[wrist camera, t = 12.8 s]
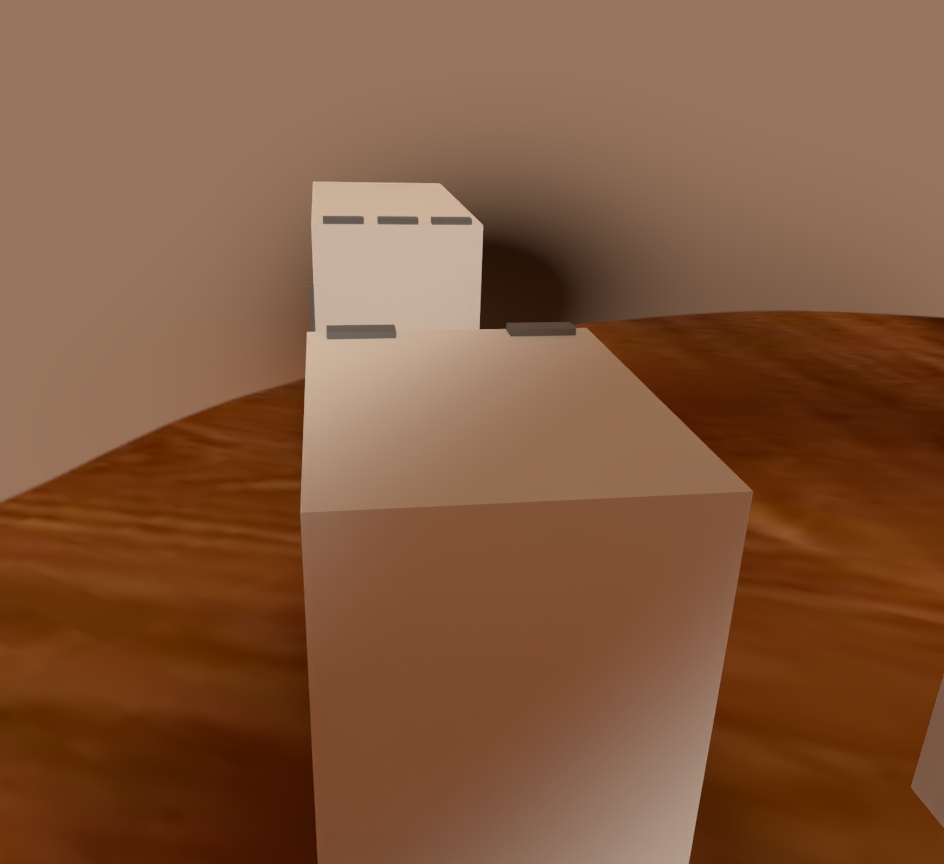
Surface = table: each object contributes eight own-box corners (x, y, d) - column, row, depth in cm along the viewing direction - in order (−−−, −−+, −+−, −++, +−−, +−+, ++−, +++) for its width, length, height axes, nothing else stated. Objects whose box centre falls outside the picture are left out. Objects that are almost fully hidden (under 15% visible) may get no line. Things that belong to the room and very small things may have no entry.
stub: (551, 756, 24) (589, 321, 19) (656, 1064, 16) (758, 481, 12) (324, 778, 23) (304, 325, 18) (327, 1115, 15) (295, 502, 11)
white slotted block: (436, 415, 46) (441, 178, 42) (473, 523, 36) (484, 219, 31) (318, 419, 45) (309, 177, 41) (319, 531, 35) (306, 218, 30)
